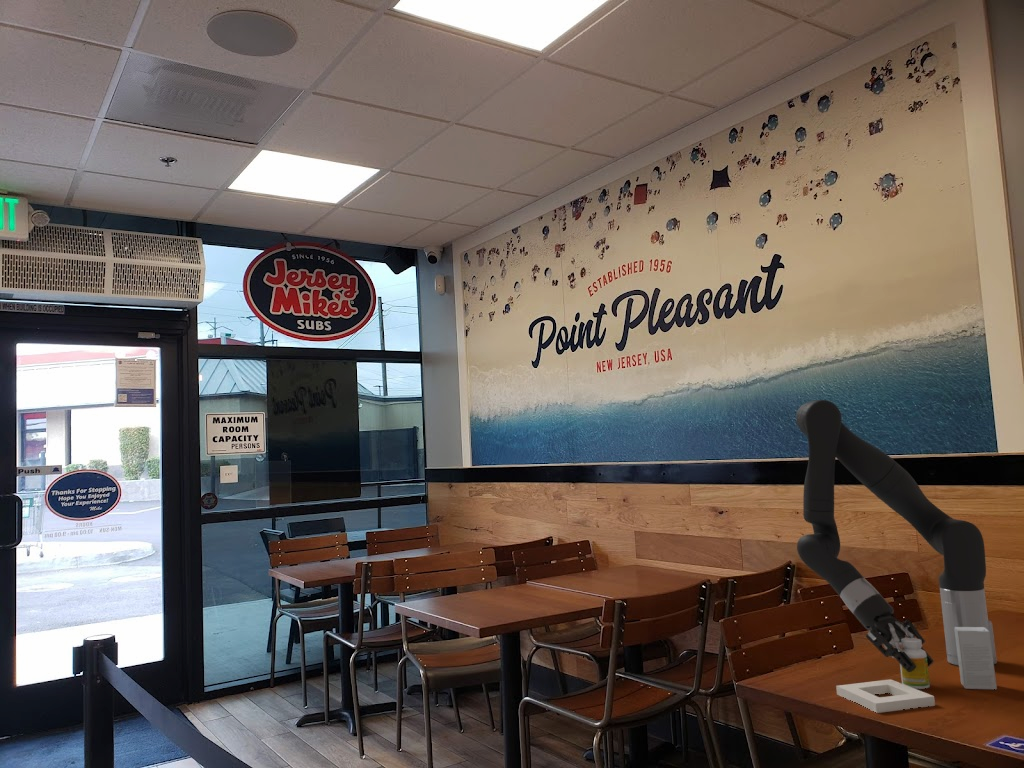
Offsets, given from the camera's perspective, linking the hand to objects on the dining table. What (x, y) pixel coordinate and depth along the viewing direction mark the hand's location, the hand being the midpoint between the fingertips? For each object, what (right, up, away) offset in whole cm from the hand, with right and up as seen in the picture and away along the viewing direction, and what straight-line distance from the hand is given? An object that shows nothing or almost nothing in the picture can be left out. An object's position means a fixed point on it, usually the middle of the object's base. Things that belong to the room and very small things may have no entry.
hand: (921, 667), depth 166 cm
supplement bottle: (-1, -5, +1) cm, 5 cm away
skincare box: (+11, -4, -2) cm, 12 cm away
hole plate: (-11, -4, -7) cm, 14 cm away
